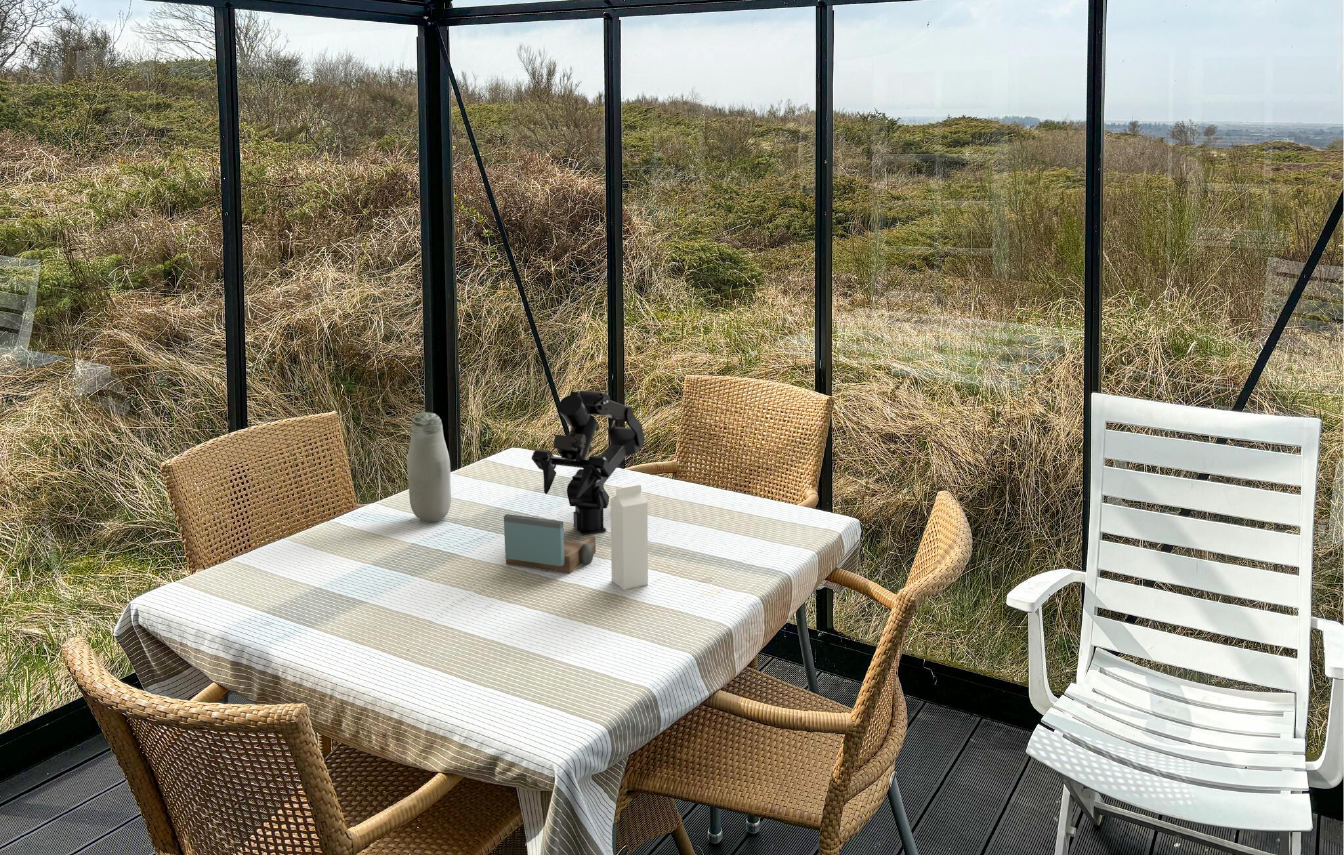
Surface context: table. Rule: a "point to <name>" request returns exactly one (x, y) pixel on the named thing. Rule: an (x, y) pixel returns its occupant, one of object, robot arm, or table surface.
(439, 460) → the grey bottle
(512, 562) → the trailer
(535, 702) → the table surface
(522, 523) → the panel
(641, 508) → the milk
